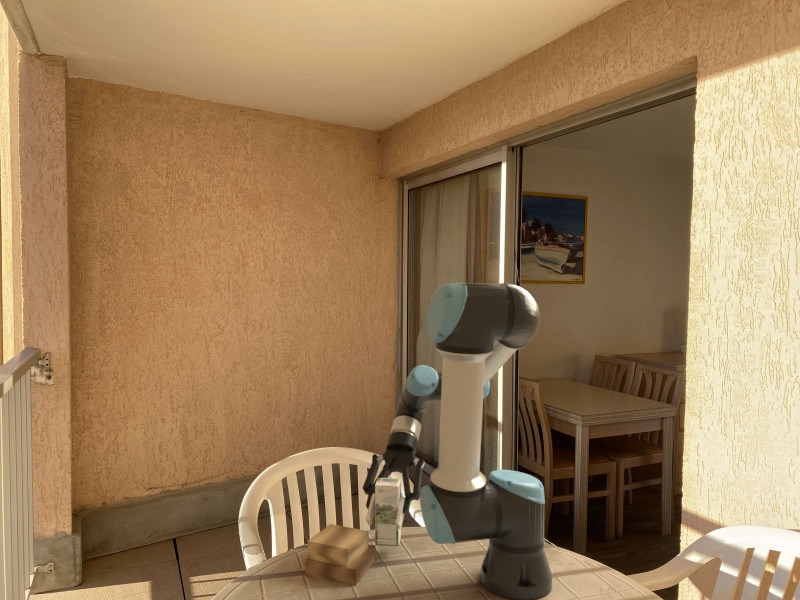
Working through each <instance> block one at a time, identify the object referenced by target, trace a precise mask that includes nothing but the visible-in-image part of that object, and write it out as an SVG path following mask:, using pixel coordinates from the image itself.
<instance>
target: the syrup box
mask: <svg viewBox="0 0 800 600" xmlns="http://www.w3.org/2000/svg"><path fill="white" fill-rule="evenodd" d="M376 479H377V478H376ZM401 497H402V480H401V478H399V477H397V478H395V477H394V478H393V477H392V478H391V477H390V478H389V477H388V478H378V479H377V481H376V484H375V514H374V528H375V529H374V531H375V532H374V536H375V537H374V543H375V544H374V545H376V546H382V547H383V546H385V547H386V546H387V547H399V546H400V541H401V537H402V528H401V529H398V527H397V525H396V519H397V514H398V510H399V505H400V501H401Z"/></svg>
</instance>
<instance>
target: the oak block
mask: <svg viewBox="0 0 800 600" xmlns="http://www.w3.org/2000/svg"><path fill="white" fill-rule="evenodd" d="M368 544H369V531H368V530H364V529H359V528H353V527H348V526H343V525H337V524H333V523H330V524H329V525H327V526H326V527H324V528H323V529H322V530H320V531H318V532H317V534H314V536H312V537H311V538H310V539H308V540H307V559H311V560H316V561H320V562H325V563H329V564H334V565H338V566H343V567H347V568H348V567H349V566H350V565H351V564H352V563H353V562H354V561H355V560H356V559H357V558H358V557H359V556H361V555H362V554H363V553H364V552H365V551H366V550H367V549H368Z"/></svg>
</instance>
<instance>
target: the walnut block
mask: <svg viewBox="0 0 800 600" xmlns="http://www.w3.org/2000/svg"><path fill="white" fill-rule="evenodd" d="M376 546H377V545H375V544H369V543H368V549H367V550H366V551H365V552H364V553H363V554H362V555H361V556H359V557H358V558H357V559H356V560H355V561H354V562H353V563H352V564H351V565H350V566H349V567H348V568H347V567H343V566H338V565H334V564H329V563H325V562H320V561H316V560H311V559H308V558H306V560H304V561H305V563H304V565H305V566H304V567H305V568H304V569H305V571H304V572H305V576H304V577H305V578H310V579H316V580H322V581H328V582H333V583H338V584H339V583H340V584H345V585H350V586H351V585H352V586H357V585H358V584H359V582H360V581H361V580H362V578H363V577H364V576H365V574H366V573H367V572H368V571H369V569H370V568H371V567H372V565H373V564H374V563H375V562H376V549H377V548H376Z"/></svg>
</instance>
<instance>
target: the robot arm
mask: <svg viewBox="0 0 800 600" xmlns="http://www.w3.org/2000/svg"><path fill="white" fill-rule="evenodd" d="M540 325H541V313H540V308H539V306H538V303H537V301H536V299H535V298H534V297H533V296H532V295H531V293H530V292H529V291H528V290H526V289H524V288H523V287H521V286H518V285H516V284H513V283H506V282H505V283H484V282H483V283H479V282H478V283H477V282H463V281H462V282H456V283H455V282H454V283H443V284H441V285H439V286H438V287H437V288H436V289H435V291H434V292H433V294H432V296H431V298H430V301H429V304H428V309H427V315H426V326H427V328H426V330H427V335H428V338H429V339H430V341H432V342H434V343H435V350H436V351H437V352H438V354H440V355H441V356H442V369H441V371H436V370H435V369H434V368H433V367H431V366H428V365H426V364H420V365H416V366H415V367H414V368H413V369H412V370H410V372H409V375H408V376H407V378H406V380H405V385H403V387H402V389H401V391H400V394H399V397H398V403H397V407H396V412H395V415H394V419H393V422H392V426H391V429H390V434H389V438H388V442H387V445H386V450H385V451H384V452H383V454H380V455H379V454H378V455H377V453H373V454H372V456H371V465H370V467H369V470H368V473H367V475H366V478H365V481H364V484H363V485H362V490H363V492H364V494H365V495H367V499H366V503H365V507H366V509H367V512H366V513H367V514H366V517H365V520H366V523H367V525H368V526H372V525H373V520H374V518H375V484H376V481H377V479H378V478H389V476H391V475H392V473H397V472H398V473H400V474H401V476H402V482H403V483H402V484H403V489H404V490H403V491H404V496H401V501H400V505H399V510H398V514H397V519H396V525H397V527H398V529H401V530H402V526H403V522H404V518H405V517H404V516H405V515H408V514H409V513H410V508H411V504H412V503H411V502H412V501H419V502H420V511H421V514H422V519H423V522H424V526H425V529H426V532H427V534H428V536H429V538H430V540H432V541H433V542H434V543H435V544H439V545H445V544H452V545H456V544H457V543H458V544H459V543H466V542H474V541H483V540H489V541H488V546H487V549H486V551H485V554H484V557H483V560H482V563H481V568H480V581H481V584H482V585H483V586H484V588H486V589H487V590H488V591H490V592H492V593H493V594H495V595H497V596H499V597H503V598H507V599H513V600H534V599H539V598H542V597H544V596H547V595H548V594H549V593H550V592H551V591H552V589H553V574H552V570H551V567H550V564H549V560H548V557H547V554H546V551H545V504H546V500H545V499H546V498H545V488H544V485H543V482H541V481H540V480H539V478H537V477H535V476H533V475H531V474H528V473H525V472H522V471H521V472H520V471H517V470H511V469H495V470H491V471H490V472H489V475H488V480H487V477H486V476H485V475H484V474H483V473H482V472H481V471H480V466H481V465H480V464H481V448H482V447H481V446H482V431H483V430H482V428H483V409H484V399H486V398H487V397H488V396H489V393H490V388H491V383H490V382H491V381H490V380H491V379H492V378H493V377H494V376H495V375H496V374H497V372H498V371H499V370H500V369H501V368H502V367H503V365H505V363H506V362H507V361H508V360H509V359H511V356H512V357H513V355H514V354H515V352H517V350H522V349H523V348H526V347H527V346H528V345H529V344H530V343H531V342H532V341H533V340H534V338H535V337H536V335H537V333H538V331H539V328H540ZM430 402H440V413H439V414H440V415H439V417H440V419H439V438H438V458H437V459H438V462H437V466H438V467H436V468H435V469H434V470H433V471H432V472H431V473H430V476H429V477H430V478H429V479H430V480H429V482H430V483H429V485H428V484H426V485H424V486H423V485H422V480H423V479H422V478H423V472H424V469H425V467H426V462H425V460H424V458H421V457H420V458H417V457H416V453H417V448H418V444H419V443H418V441H419V438H420V433H421V430H422V424H423V421H424V416H425V413H426V410H427V407H428V405H429V404H430ZM383 461H384V465H383V466H382V469H381V471H380V472H379V469H380V465H381V464H382V463H383ZM413 465H414V467H415V470H414V480H413V487H412V490H411V482H410V474H409V469H410V468H411V467H412V466H413ZM378 472H379V474H378ZM377 474H378V475H377Z"/></svg>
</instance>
